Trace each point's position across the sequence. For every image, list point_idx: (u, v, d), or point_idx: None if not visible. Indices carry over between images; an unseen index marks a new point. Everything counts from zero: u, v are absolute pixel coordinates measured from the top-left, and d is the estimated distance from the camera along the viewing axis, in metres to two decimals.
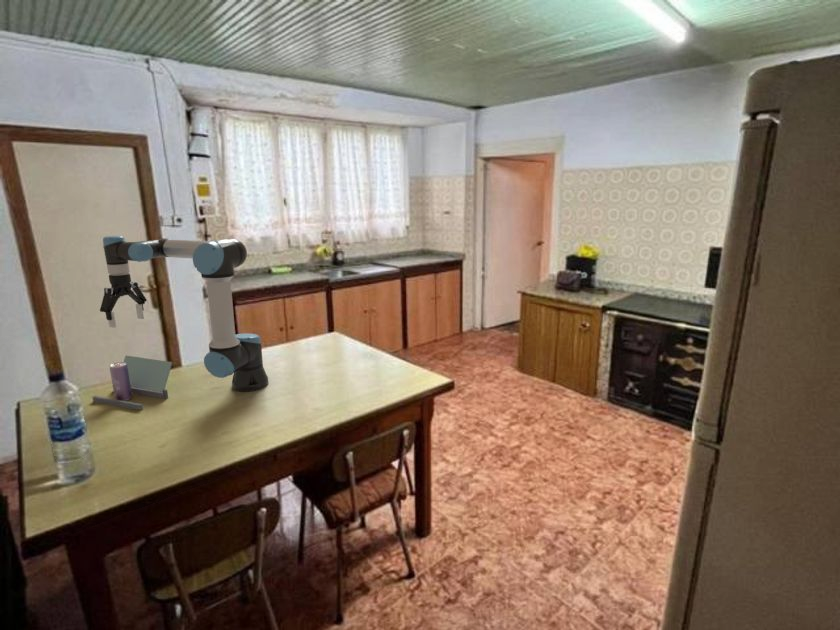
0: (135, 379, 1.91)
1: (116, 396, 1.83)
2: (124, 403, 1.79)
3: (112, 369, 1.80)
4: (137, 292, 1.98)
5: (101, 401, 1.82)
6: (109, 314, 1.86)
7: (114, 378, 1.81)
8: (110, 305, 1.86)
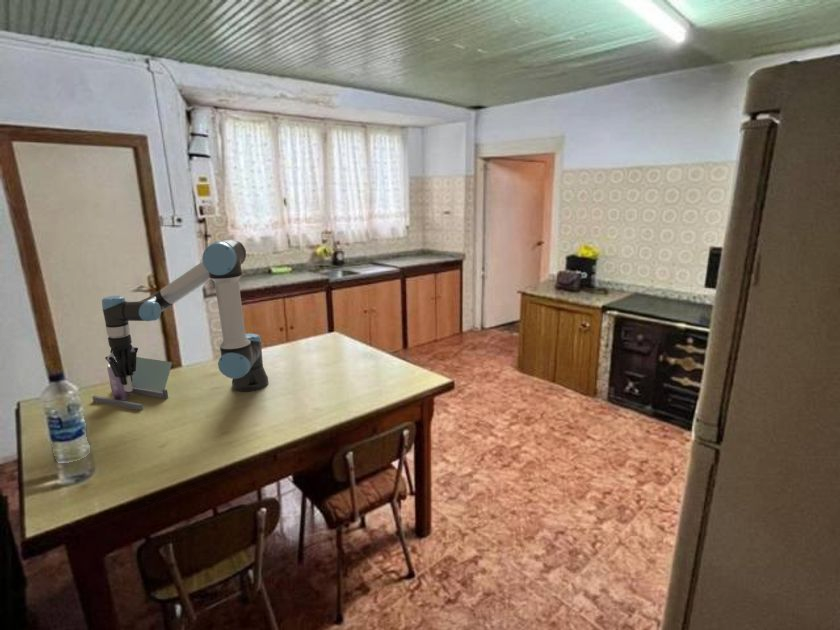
0: (135, 379, 1.91)
1: (114, 396, 1.83)
2: (124, 403, 1.79)
3: (109, 369, 1.80)
4: (131, 358, 1.84)
5: (101, 401, 1.82)
6: (124, 379, 1.81)
7: (111, 378, 1.81)
8: (121, 370, 1.80)
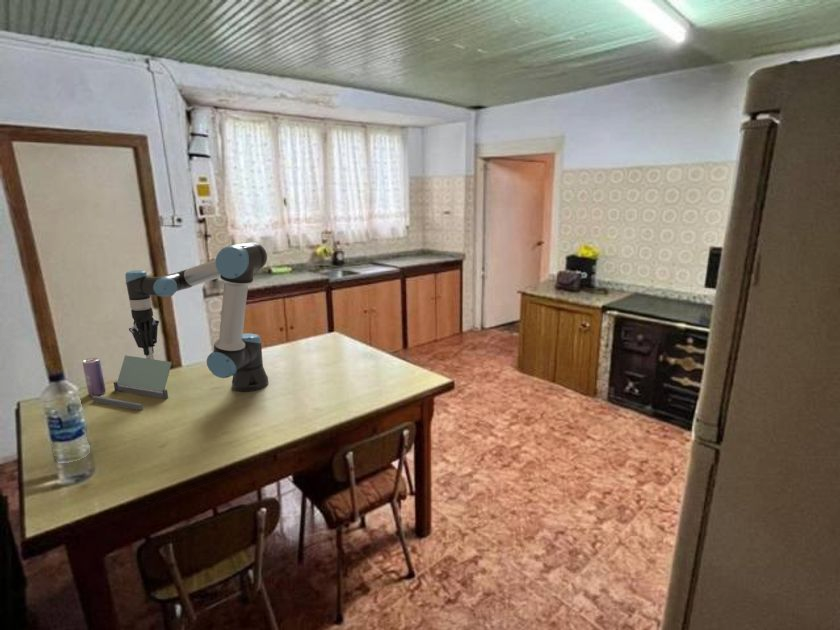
0: (135, 379, 1.91)
1: (88, 391, 1.88)
2: (124, 403, 1.79)
3: (83, 364, 1.84)
4: (153, 330, 1.94)
5: (101, 401, 1.82)
6: (146, 349, 1.91)
7: (85, 373, 1.85)
8: (144, 342, 1.90)
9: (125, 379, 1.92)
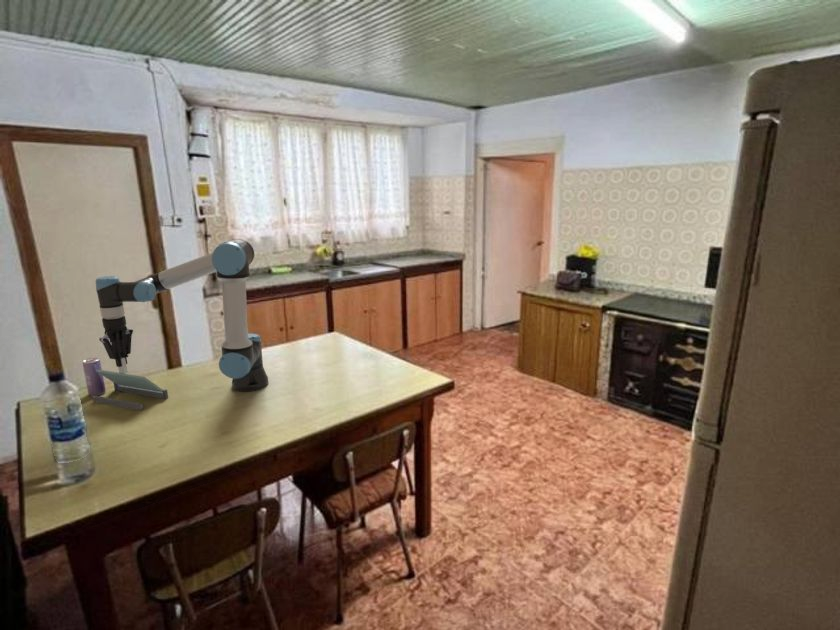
0: (128, 384, 1.88)
1: (88, 391, 1.88)
2: (124, 403, 1.79)
3: (83, 364, 1.84)
4: (126, 340, 1.82)
5: (101, 401, 1.82)
6: (119, 361, 1.79)
7: (85, 373, 1.85)
8: (116, 352, 1.78)
9: (120, 383, 1.90)
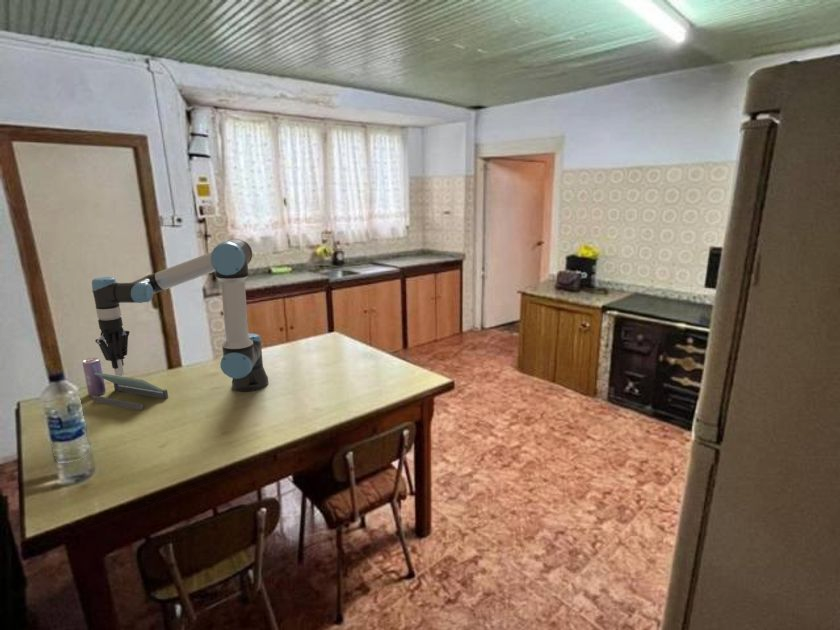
0: (128, 385, 1.88)
1: (88, 391, 1.88)
2: (124, 403, 1.79)
3: (83, 364, 1.84)
4: (123, 342, 1.80)
5: (101, 401, 1.82)
6: (115, 362, 1.77)
7: (85, 373, 1.85)
8: (112, 354, 1.76)
9: (120, 383, 1.90)
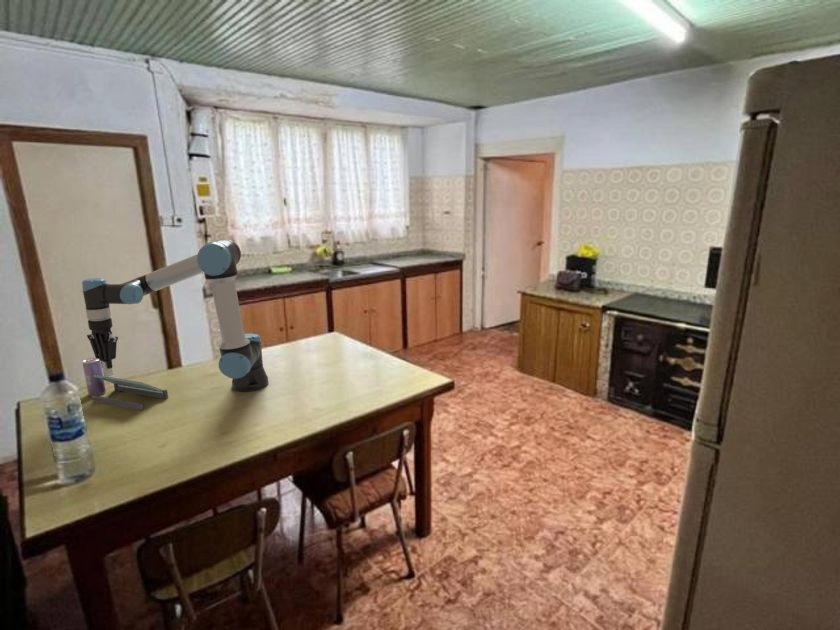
0: (128, 385, 1.88)
1: (88, 391, 1.88)
2: (124, 403, 1.79)
3: (83, 364, 1.84)
4: None
5: (101, 401, 1.82)
6: (101, 362, 1.79)
7: (85, 373, 1.85)
8: None
9: (120, 384, 1.90)
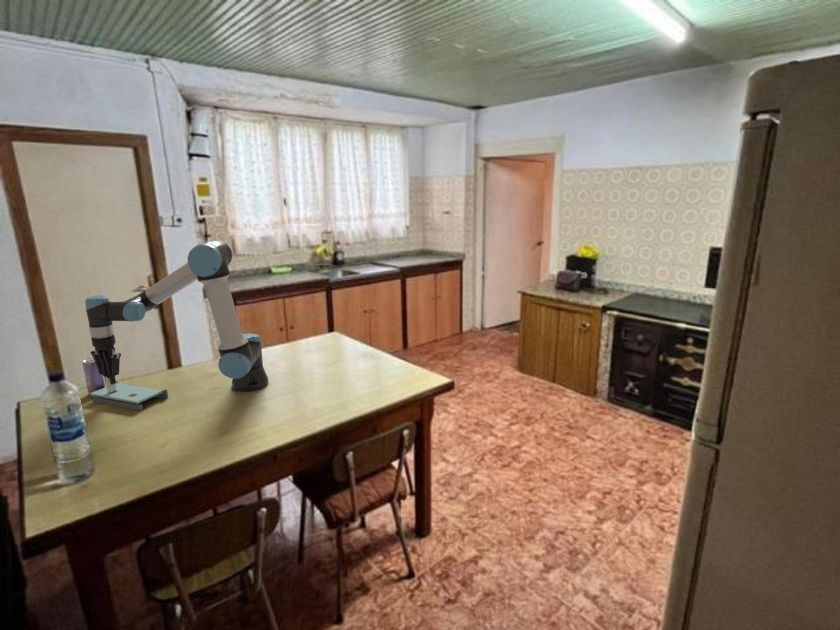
0: None
1: (88, 391, 1.88)
2: (124, 403, 1.79)
3: (83, 364, 1.84)
4: None
5: (101, 401, 1.82)
6: (105, 378, 1.82)
7: (85, 373, 1.85)
8: None
9: None
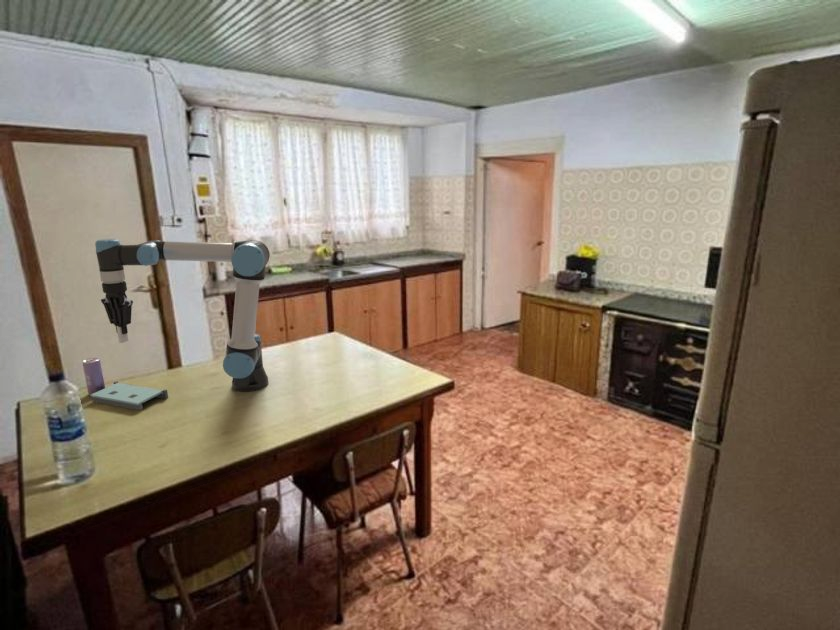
0: None
1: (88, 391, 1.88)
2: (124, 403, 1.79)
3: (83, 364, 1.84)
4: None
5: (101, 401, 1.82)
6: (116, 327, 1.73)
7: (85, 373, 1.85)
8: None
9: None
